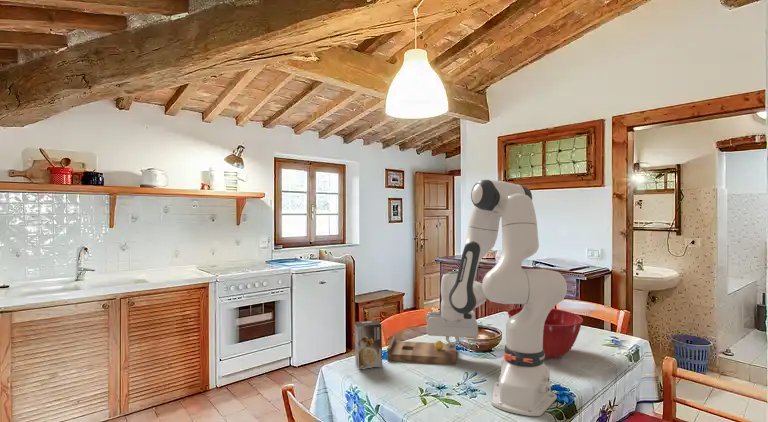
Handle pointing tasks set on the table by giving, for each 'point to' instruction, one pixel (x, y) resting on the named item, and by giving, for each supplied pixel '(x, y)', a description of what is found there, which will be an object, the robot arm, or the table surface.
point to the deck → (420, 352)
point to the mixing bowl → (557, 331)
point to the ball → (438, 345)
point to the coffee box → (368, 344)
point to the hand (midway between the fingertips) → (452, 347)
